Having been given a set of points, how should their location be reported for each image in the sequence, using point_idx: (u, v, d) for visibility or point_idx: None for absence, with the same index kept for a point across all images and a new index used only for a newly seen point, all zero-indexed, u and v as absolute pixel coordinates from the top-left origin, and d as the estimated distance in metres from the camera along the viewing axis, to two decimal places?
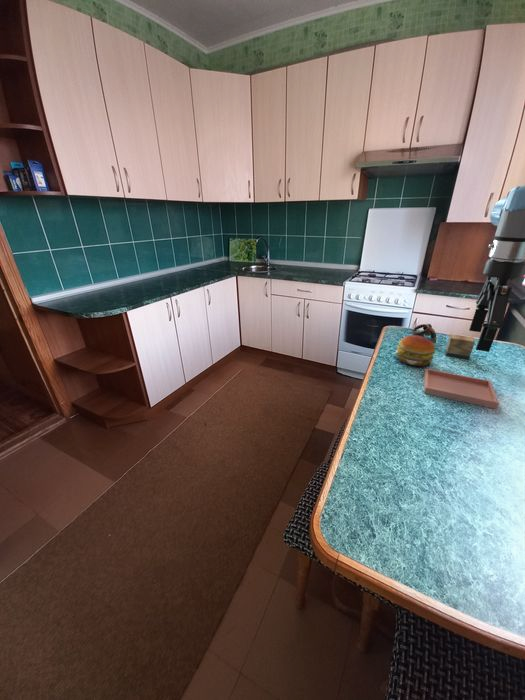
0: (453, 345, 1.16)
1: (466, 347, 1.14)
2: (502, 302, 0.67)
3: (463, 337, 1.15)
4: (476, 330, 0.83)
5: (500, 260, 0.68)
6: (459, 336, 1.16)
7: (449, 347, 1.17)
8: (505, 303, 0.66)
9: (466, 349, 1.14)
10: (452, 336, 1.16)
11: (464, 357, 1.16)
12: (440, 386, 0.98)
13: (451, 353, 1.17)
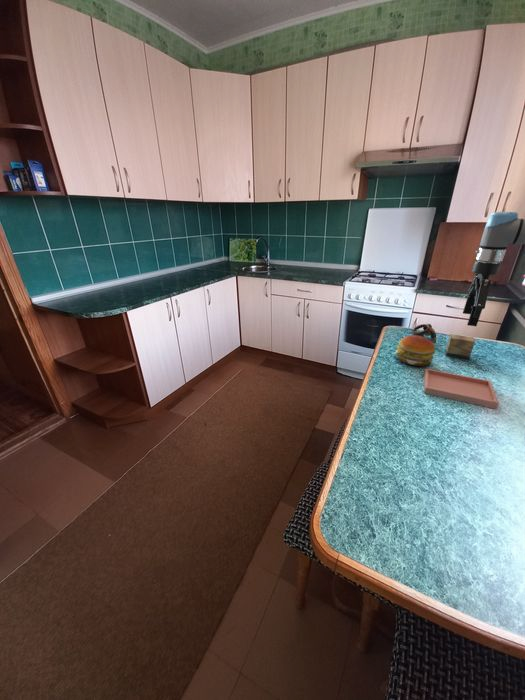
0: (453, 345, 1.16)
1: (466, 347, 1.14)
2: (484, 291, 0.97)
3: (463, 337, 1.15)
4: (468, 313, 1.14)
5: (483, 262, 0.98)
6: (459, 336, 1.16)
7: (449, 347, 1.17)
8: (487, 291, 0.97)
9: (466, 349, 1.14)
10: (452, 336, 1.16)
11: (464, 357, 1.16)
12: (440, 386, 0.98)
13: (451, 353, 1.17)
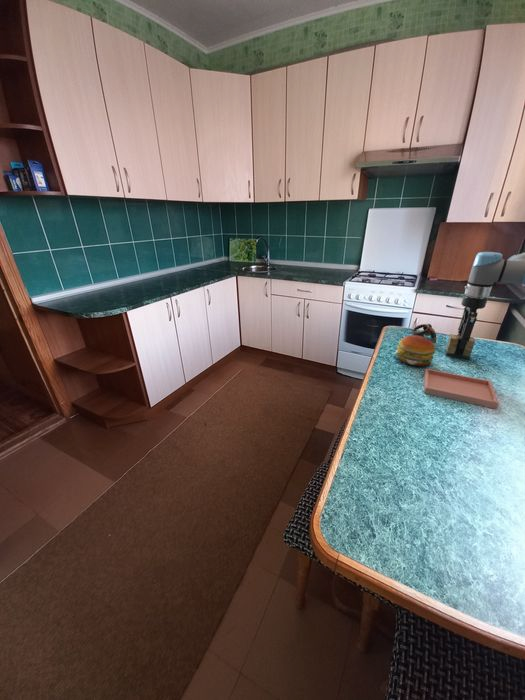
0: (453, 345, 1.16)
1: (466, 347, 1.14)
2: (470, 327, 1.07)
3: None
4: None
5: (471, 297, 1.06)
6: (459, 336, 1.16)
7: (449, 347, 1.17)
8: (472, 327, 1.07)
9: (466, 349, 1.14)
10: (452, 336, 1.16)
11: (464, 357, 1.16)
12: (440, 386, 0.98)
13: (451, 353, 1.17)
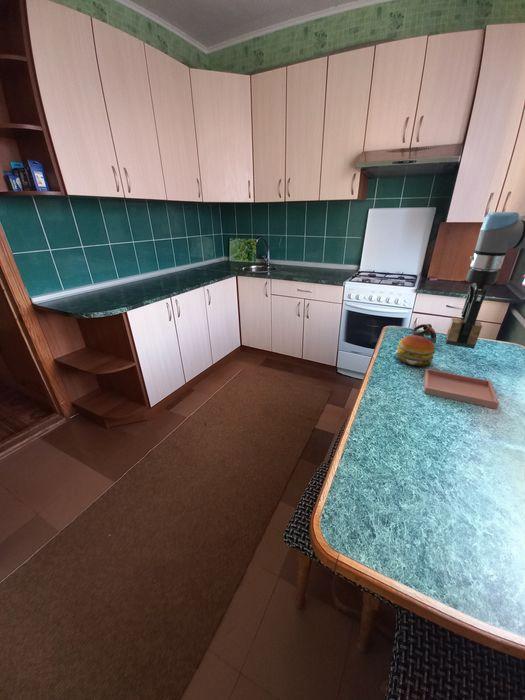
0: (455, 331, 0.95)
1: (471, 334, 0.93)
2: (476, 307, 0.86)
3: None
4: None
5: (478, 269, 0.85)
6: (462, 320, 0.95)
7: (450, 333, 0.96)
8: (478, 308, 0.86)
9: (471, 335, 0.93)
10: (454, 320, 0.96)
11: (468, 346, 0.95)
12: (440, 386, 0.98)
13: (452, 341, 0.96)
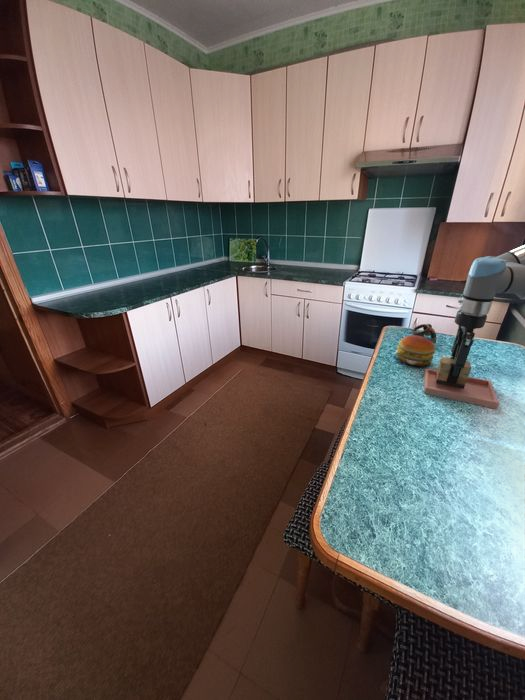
0: (445, 371, 0.94)
1: (460, 374, 0.93)
2: (465, 351, 0.86)
3: None
4: None
5: (467, 314, 0.85)
6: (452, 360, 0.95)
7: (440, 373, 0.95)
8: (467, 352, 0.86)
9: (460, 376, 0.93)
10: (443, 360, 0.95)
11: (458, 386, 0.94)
12: (440, 386, 0.98)
13: (442, 380, 0.96)
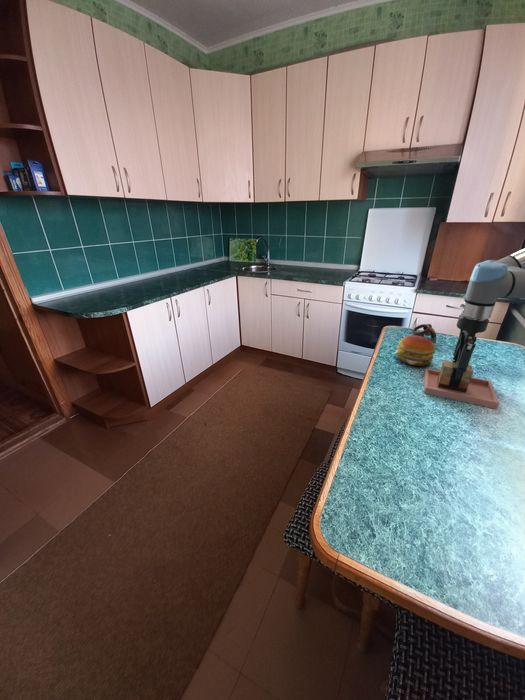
0: (447, 375, 0.95)
1: (462, 378, 0.93)
2: (467, 355, 0.86)
3: None
4: None
5: (468, 318, 0.85)
6: (454, 363, 0.95)
7: (442, 377, 0.96)
8: (469, 356, 0.86)
9: (462, 380, 0.93)
10: (445, 363, 0.95)
11: (460, 389, 0.95)
12: None
13: (444, 384, 0.96)
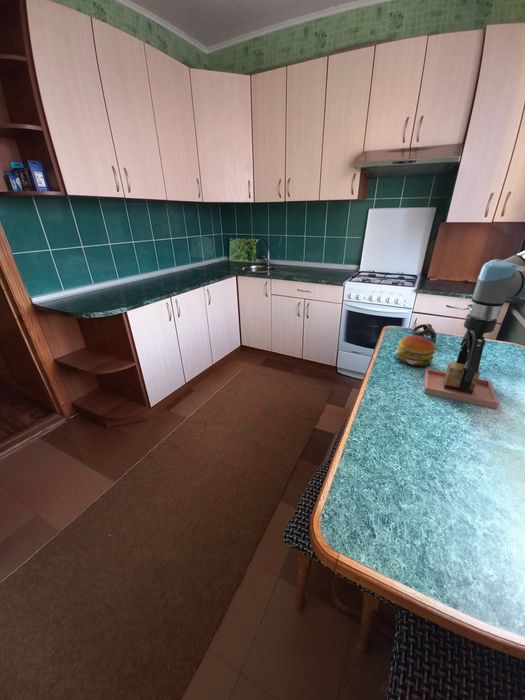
0: (453, 376, 0.94)
1: None
2: (477, 352, 0.83)
3: (465, 366, 0.93)
4: None
5: (476, 318, 0.84)
6: (460, 365, 0.94)
7: (448, 378, 0.95)
8: (480, 353, 0.83)
9: None
10: (452, 365, 0.95)
11: (466, 391, 0.94)
12: (440, 386, 0.98)
13: (450, 385, 0.95)
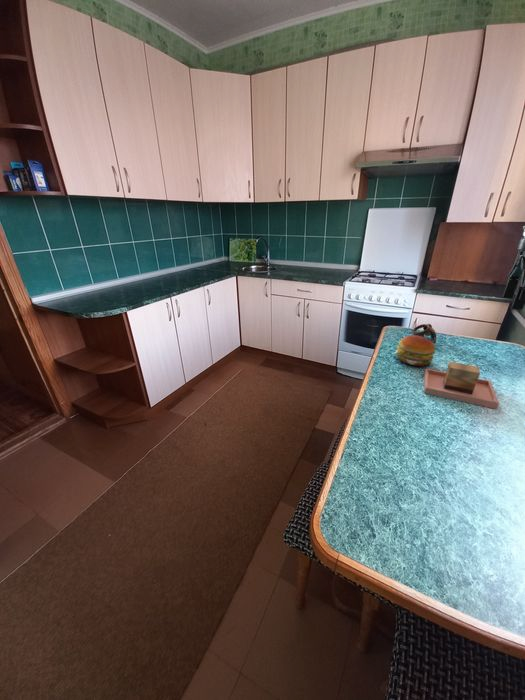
0: (453, 376, 0.94)
1: (469, 380, 0.92)
2: None
3: (465, 366, 0.93)
4: (508, 297, 1.05)
5: None
6: (460, 365, 0.94)
7: (448, 378, 0.95)
8: None
9: (469, 381, 0.92)
10: (452, 365, 0.95)
11: (466, 391, 0.94)
12: (440, 386, 0.98)
13: (450, 385, 0.95)
